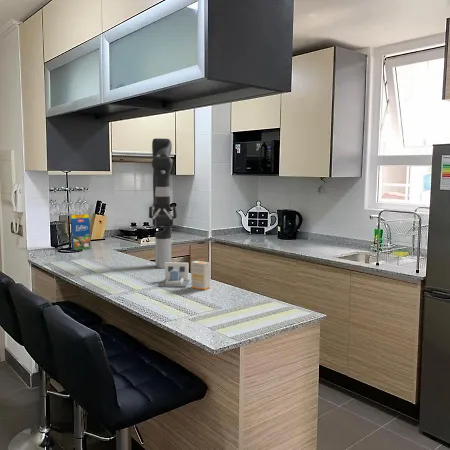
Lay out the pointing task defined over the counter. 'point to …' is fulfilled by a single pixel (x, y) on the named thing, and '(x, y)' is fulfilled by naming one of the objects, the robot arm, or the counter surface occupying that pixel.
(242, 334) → the counter surface
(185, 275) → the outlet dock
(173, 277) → the block
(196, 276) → the supplement box
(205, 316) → the counter surface
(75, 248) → the blue food package
